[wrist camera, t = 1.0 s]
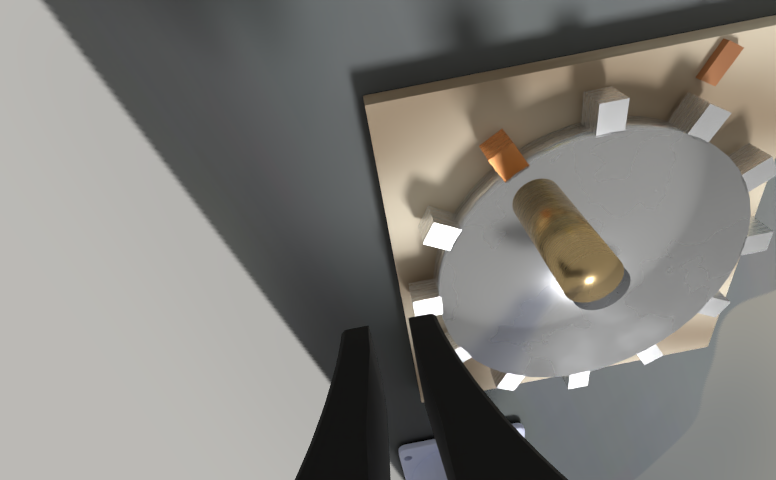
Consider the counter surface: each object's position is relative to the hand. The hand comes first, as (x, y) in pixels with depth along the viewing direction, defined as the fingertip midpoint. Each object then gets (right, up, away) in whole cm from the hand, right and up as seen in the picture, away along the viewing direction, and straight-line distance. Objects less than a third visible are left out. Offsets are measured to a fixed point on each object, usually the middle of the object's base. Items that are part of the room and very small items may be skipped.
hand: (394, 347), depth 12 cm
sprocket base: (+8, +3, +10) cm, 13 cm away
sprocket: (+8, +2, +9) cm, 12 cm away
